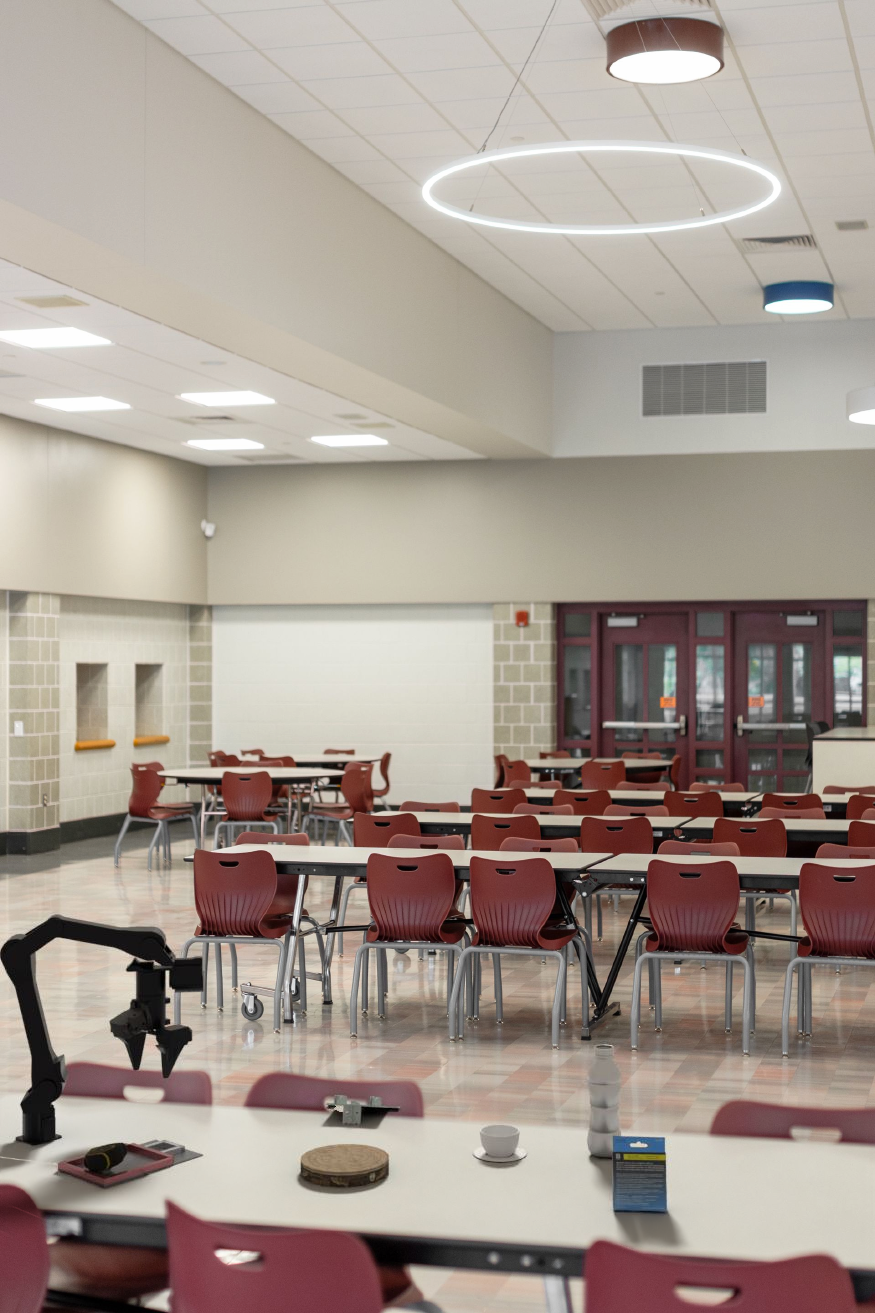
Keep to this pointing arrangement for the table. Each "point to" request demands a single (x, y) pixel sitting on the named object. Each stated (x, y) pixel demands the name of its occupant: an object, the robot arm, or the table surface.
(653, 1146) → the label tape cartridge
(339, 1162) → the wood slice
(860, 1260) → the table surface
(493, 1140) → the teacup
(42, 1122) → the robot arm
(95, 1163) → the tape measure
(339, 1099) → the metal bracket
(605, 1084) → the plastic bottle
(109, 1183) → the fitting plate
